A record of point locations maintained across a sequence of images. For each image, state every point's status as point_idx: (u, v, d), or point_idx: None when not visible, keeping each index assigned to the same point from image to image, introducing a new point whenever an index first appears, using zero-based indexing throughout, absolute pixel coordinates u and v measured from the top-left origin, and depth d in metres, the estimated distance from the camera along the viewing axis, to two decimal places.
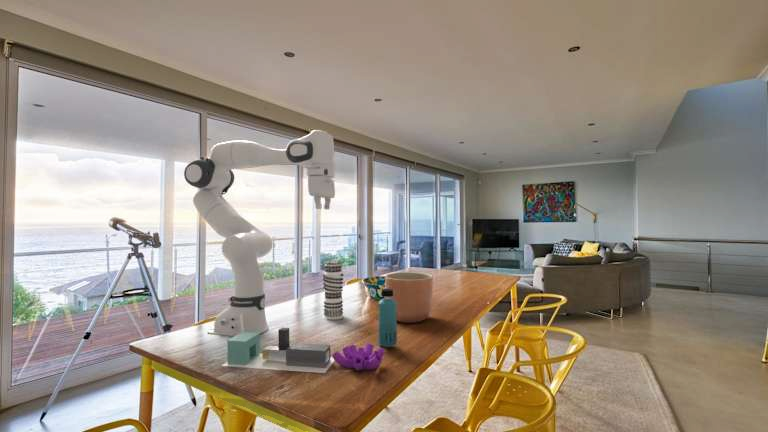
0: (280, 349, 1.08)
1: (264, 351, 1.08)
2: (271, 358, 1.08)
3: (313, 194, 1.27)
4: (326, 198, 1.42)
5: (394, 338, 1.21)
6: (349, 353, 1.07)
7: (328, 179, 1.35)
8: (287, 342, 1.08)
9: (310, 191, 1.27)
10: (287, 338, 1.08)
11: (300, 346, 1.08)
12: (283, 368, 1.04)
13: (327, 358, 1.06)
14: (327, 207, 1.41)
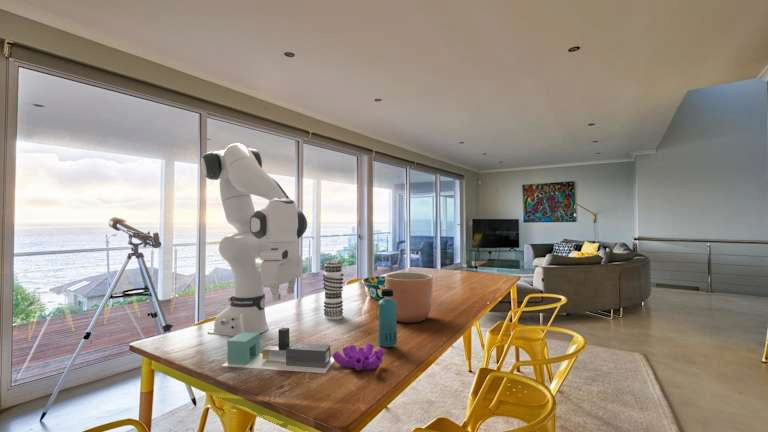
0: (280, 349, 1.08)
1: (264, 351, 1.08)
2: (271, 358, 1.08)
3: (267, 286, 0.99)
4: None
5: (394, 338, 1.21)
6: (349, 353, 1.07)
7: (290, 260, 1.07)
8: (287, 342, 1.08)
9: (263, 282, 0.99)
10: (287, 338, 1.08)
11: (300, 346, 1.08)
12: (283, 368, 1.04)
13: (327, 358, 1.06)
14: (290, 291, 1.13)
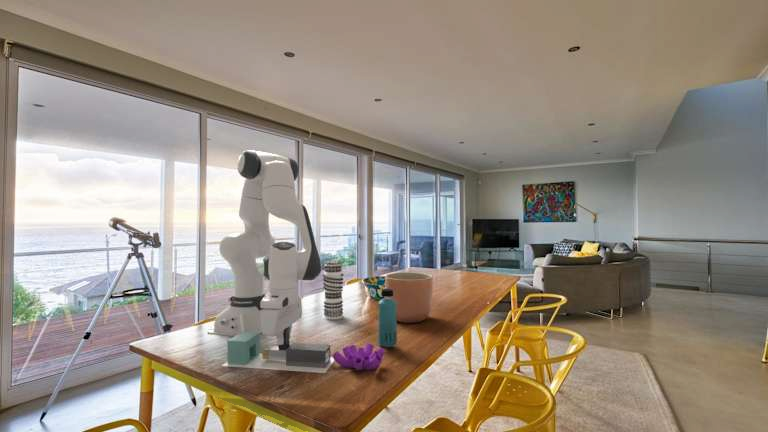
0: (280, 349, 1.08)
1: (264, 351, 1.08)
2: (271, 358, 1.08)
3: (268, 335, 0.99)
4: None
5: (394, 338, 1.21)
6: (349, 353, 1.07)
7: (290, 306, 1.07)
8: (287, 342, 1.08)
9: (264, 331, 0.99)
10: (287, 338, 1.08)
11: (300, 346, 1.08)
12: (283, 368, 1.04)
13: (327, 358, 1.06)
14: None
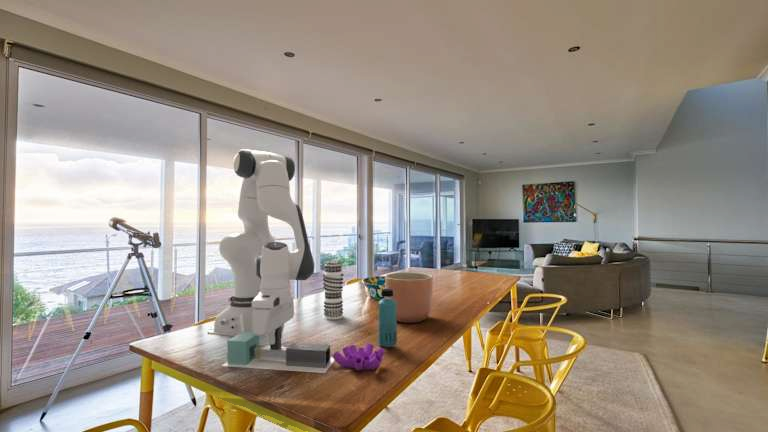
0: (272, 349, 1.08)
1: (256, 350, 1.09)
2: (263, 357, 1.08)
3: (259, 335, 1.00)
4: None
5: (394, 338, 1.21)
6: (349, 353, 1.07)
7: (281, 306, 1.07)
8: (279, 342, 1.09)
9: (255, 331, 1.00)
10: (279, 338, 1.09)
11: (300, 346, 1.08)
12: (283, 368, 1.04)
13: None
14: None
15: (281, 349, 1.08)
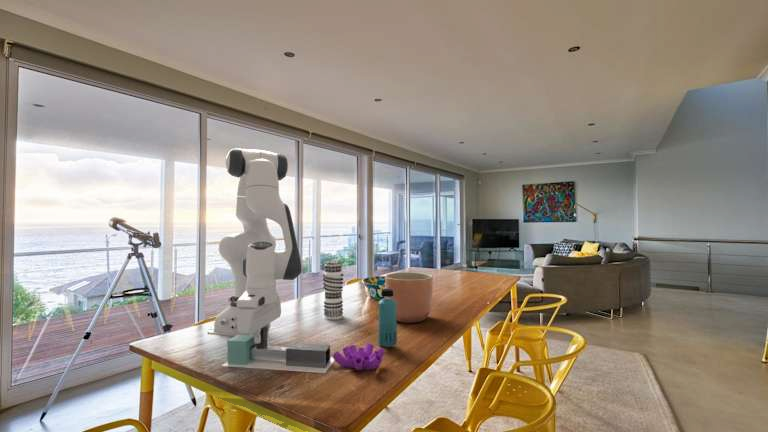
0: (258, 348, 1.09)
1: None
2: None
3: (243, 334, 1.00)
4: None
5: (394, 338, 1.21)
6: (349, 353, 1.07)
7: (267, 305, 1.08)
8: (265, 341, 1.10)
9: (239, 330, 1.00)
10: (265, 337, 1.10)
11: (300, 346, 1.08)
12: (283, 368, 1.04)
13: None
14: None
15: (267, 348, 1.09)
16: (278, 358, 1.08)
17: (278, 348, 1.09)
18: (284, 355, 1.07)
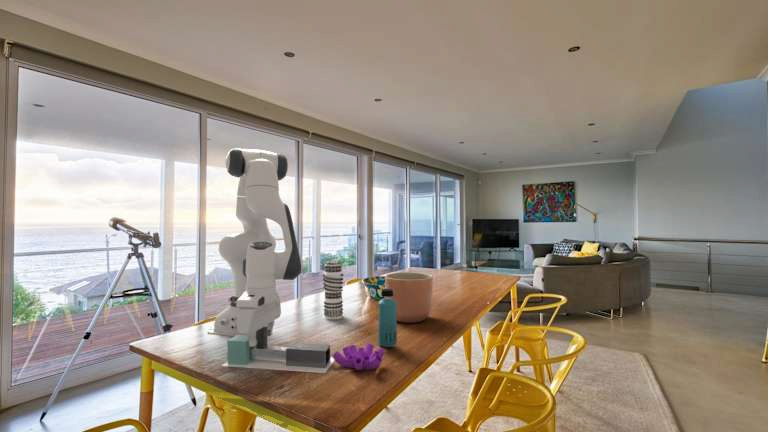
0: (258, 348, 1.09)
1: None
2: None
3: (243, 334, 1.00)
4: None
5: (394, 338, 1.21)
6: (349, 353, 1.07)
7: (267, 305, 1.08)
8: (265, 341, 1.10)
9: (239, 330, 1.00)
10: (265, 337, 1.10)
11: (300, 346, 1.08)
12: (283, 368, 1.04)
13: None
14: (269, 333, 1.14)
15: (267, 348, 1.09)
16: (278, 358, 1.08)
17: (278, 348, 1.09)
18: (284, 355, 1.07)
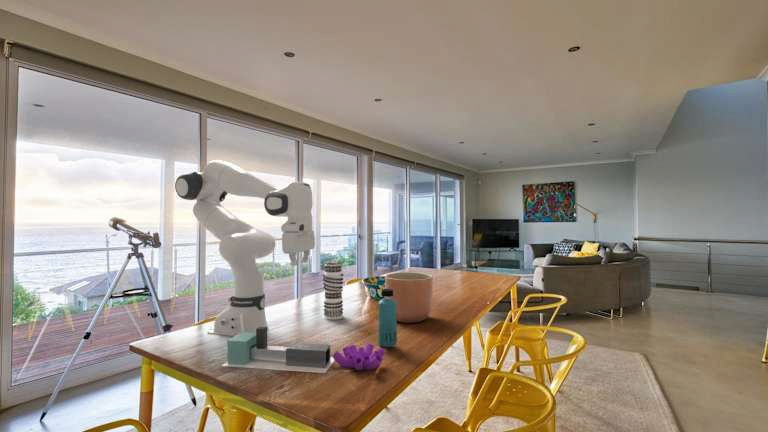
0: (258, 348, 1.09)
1: None
2: None
3: (287, 252, 1.21)
4: None
5: (394, 338, 1.21)
6: (349, 353, 1.07)
7: (305, 233, 1.29)
8: (265, 341, 1.10)
9: (284, 249, 1.21)
10: (265, 337, 1.10)
11: (300, 346, 1.08)
12: (283, 368, 1.04)
13: None
14: (305, 260, 1.35)
15: (267, 348, 1.09)
16: (278, 358, 1.08)
17: (278, 348, 1.09)
18: (284, 355, 1.07)
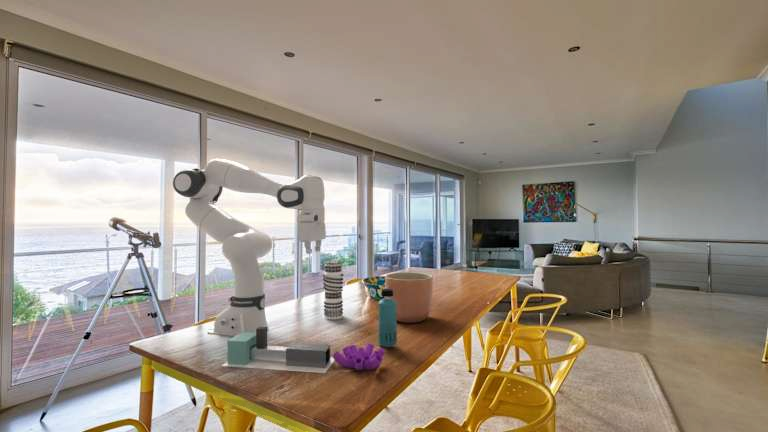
0: (258, 348, 1.09)
1: None
2: None
3: (303, 241, 1.30)
4: (317, 240, 1.45)
5: (394, 338, 1.21)
6: (349, 353, 1.07)
7: (318, 223, 1.38)
8: (265, 341, 1.10)
9: (300, 238, 1.30)
10: (265, 337, 1.10)
11: (300, 346, 1.08)
12: (283, 368, 1.04)
13: None
14: (318, 249, 1.44)
15: (267, 348, 1.09)
16: (278, 358, 1.08)
17: (278, 348, 1.09)
18: (284, 355, 1.07)
